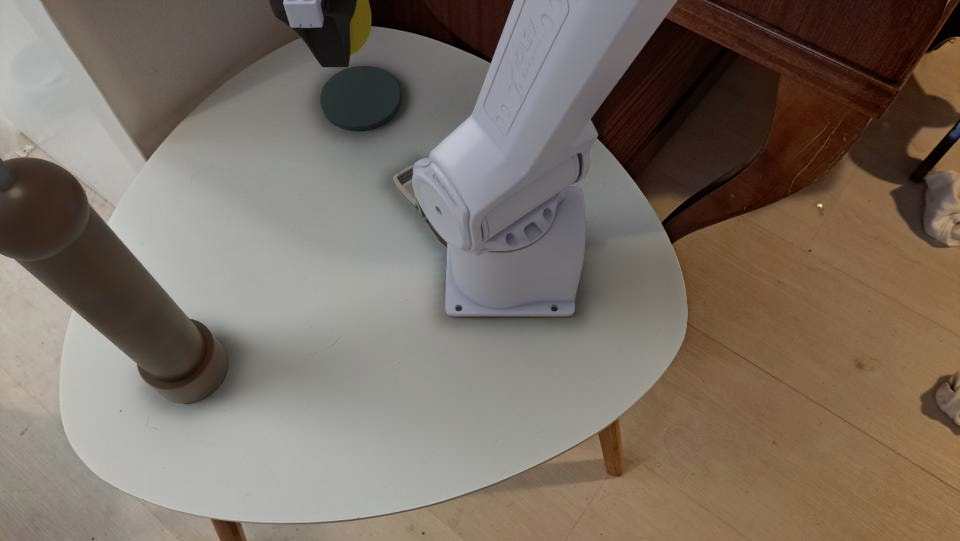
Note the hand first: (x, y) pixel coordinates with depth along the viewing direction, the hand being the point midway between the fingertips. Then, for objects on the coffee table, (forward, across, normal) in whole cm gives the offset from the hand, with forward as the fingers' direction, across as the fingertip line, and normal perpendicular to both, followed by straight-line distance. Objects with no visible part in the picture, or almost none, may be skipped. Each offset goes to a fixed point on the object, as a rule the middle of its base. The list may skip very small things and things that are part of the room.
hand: (339, 33), depth 55 cm
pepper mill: (+9, +24, -10) cm, 27 cm away
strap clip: (+9, +10, +7) cm, 15 cm away
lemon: (+2, 0, 0) cm, 2 cm away
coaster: (+9, -1, 0) cm, 9 cm away
